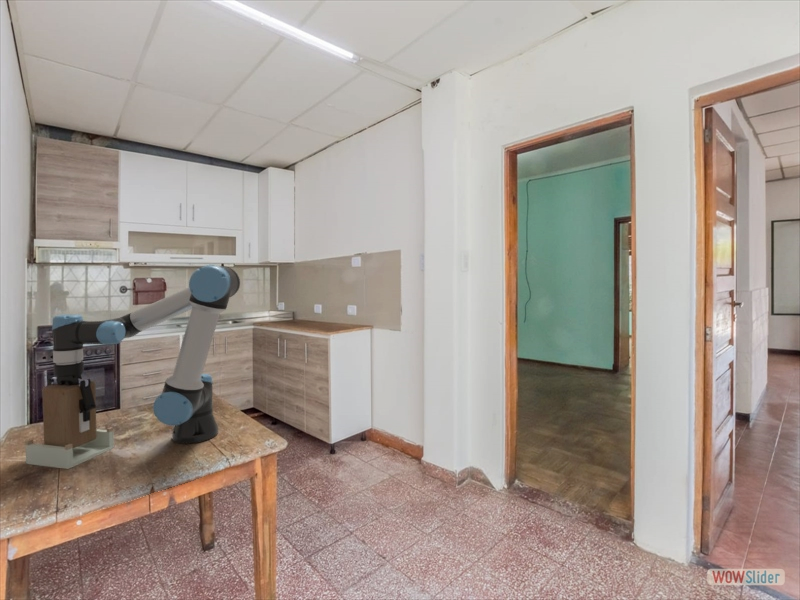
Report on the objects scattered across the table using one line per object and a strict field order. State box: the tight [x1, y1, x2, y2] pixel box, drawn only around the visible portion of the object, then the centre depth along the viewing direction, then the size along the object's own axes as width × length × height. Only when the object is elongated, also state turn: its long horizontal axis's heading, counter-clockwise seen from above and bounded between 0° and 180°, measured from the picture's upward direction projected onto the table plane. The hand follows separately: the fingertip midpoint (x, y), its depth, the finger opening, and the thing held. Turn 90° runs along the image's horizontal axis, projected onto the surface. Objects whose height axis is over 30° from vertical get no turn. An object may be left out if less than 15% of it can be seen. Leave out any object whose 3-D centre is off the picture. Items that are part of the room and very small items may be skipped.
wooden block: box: [41, 380, 97, 448], centre depth 130 cm, size 10×10×20 cm
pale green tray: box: [25, 426, 115, 470], centre depth 130 cm, size 16×16×7 cm
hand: (70, 429), depth 130 cm, fingers closed on wooden block, 10 cm apart
